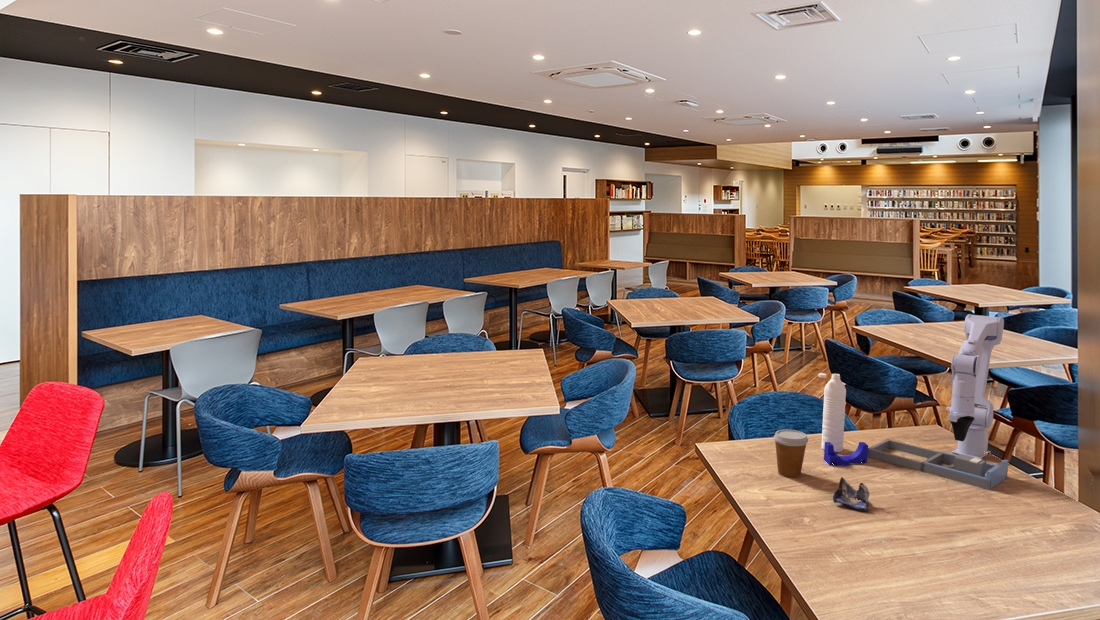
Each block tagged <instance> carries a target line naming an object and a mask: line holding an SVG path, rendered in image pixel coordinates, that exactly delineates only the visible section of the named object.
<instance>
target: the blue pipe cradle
mask: <svg viewBox="0 0 1100 620" xmlns="http://www.w3.org/2000/svg"><path fill="white" fill-rule="evenodd" d="M868 448H869V444H867V443H866V442H864V441H859V442H858V445H857V448H856V449H855V450H854V452H853V453H851V454H848V455H839V454H837V452H835V451H834V445H832V444H831V443H830V442H825V447H824V450H823V461H824V460H825V461H826V462H827V463H828V464H829V466H850V463H861V462H862V463H863V465H865V463H867V464H868V458H869V457H868ZM825 461H824V462H825ZM826 462H825V463H826ZM832 463H833V464H834V465H833V464H832ZM828 464H827V465H828Z"/></svg>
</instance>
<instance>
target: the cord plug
mask: <svg viewBox="0 0 1100 620" xmlns="http://www.w3.org/2000/svg"><path fill="white" fill-rule="evenodd" d="M956 455H957V456H956V457H954V465H948V464H942V465H941V466H943V467H947V468H951V469H954V470H958V471H962V472H966V473H970V474H974V475H977V476H981V477H985V478H986V473H985V471H986V463H987V460H985V459H983V458H981V459H980V458H976V457H974V458H973V457H969V456H965V455H961V454H956Z"/></svg>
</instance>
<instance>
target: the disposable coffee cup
mask: <svg viewBox="0 0 1100 620" xmlns="http://www.w3.org/2000/svg"><path fill="white" fill-rule="evenodd" d="M773 440H774V442H775V452H776V453H775V454H776V464H777V473H778V474H779V475H780V476H783V477H786V478H798V477H800V476H801V475H802V469H803V463H804V457H805V453H806V447H807V444H808V442H809V438H808V436H807V434H806V433H804V432H803V431H799V430H797V429H796V430H795V429H779V430H777V431H775V433H774V435H773Z"/></svg>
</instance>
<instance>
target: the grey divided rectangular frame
mask: <svg viewBox="0 0 1100 620" xmlns="http://www.w3.org/2000/svg"><path fill="white" fill-rule="evenodd" d="M885 449H886V450H888V449H892V450H895V451H898V452H899V451H900V452H903V453H907V454H911V455H914V456H919V457H923V458H927V459H925V460H924V461H919V460H915V459H912V458H908V457H904V456H901V455H897V454H893V453H890V452H886V451H885ZM957 455H958V454H955V453H950V452H949V453H948V452H945V451H943V452H941V451H938V450H934V449H929V448H926V447H921V446H917V445H913V444H909V443H906V442H900V441H897V440H893V439H888V438H887V439H884V440H883V441H880V442H878V443H876V444H874V445H871V446H870V447H868V458H871V459H875V460H879V461H883V462H887V463H890V464H893V465H897V466H901V467H905V468H908V469H912V470H915V471H919V472H923V473H926V474H931V475H934V476H938V477H941V478H943V479H944V478H946V479H949V480H952V481H955V482H959V483H962V484H966V485H970V486H974V487H977V486H978V487H977V488H981V489H985V490H991V489H992V488H994V487H996V486H997V485H998V484H999V483H1001V482H1002V481H1004V480H1005V479H1006V478H1008V470H1009V460H1008V459H1003V460H1001V461H1000V462H999V463H997V464H994V463H990V462H986V471H985V477H981V476H977V475H974V474H970V473H966V472H962V471H958V470H954V469H951V468H947V467H943V466H942V465H939V464H940V463H947V464H950V465H952V466H954V457H956V456H957ZM996 484H997V485H996Z"/></svg>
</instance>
